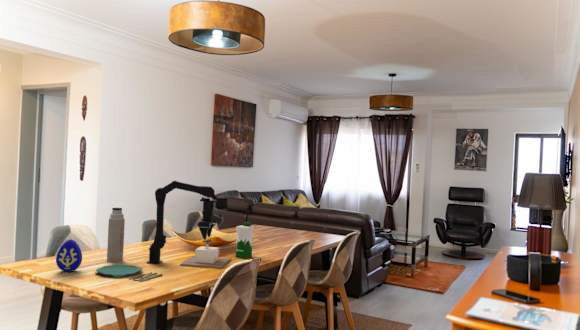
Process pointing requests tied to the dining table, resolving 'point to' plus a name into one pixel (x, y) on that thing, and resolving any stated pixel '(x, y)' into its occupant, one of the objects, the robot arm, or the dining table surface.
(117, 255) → the thermos bottle
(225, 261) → the board
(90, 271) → the dining table surface
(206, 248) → the plunger
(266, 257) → the dining table surface
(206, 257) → the white block with hole
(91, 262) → the dining table surface
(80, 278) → the dining table surface
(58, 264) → the ornament
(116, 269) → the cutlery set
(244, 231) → the milk carton
